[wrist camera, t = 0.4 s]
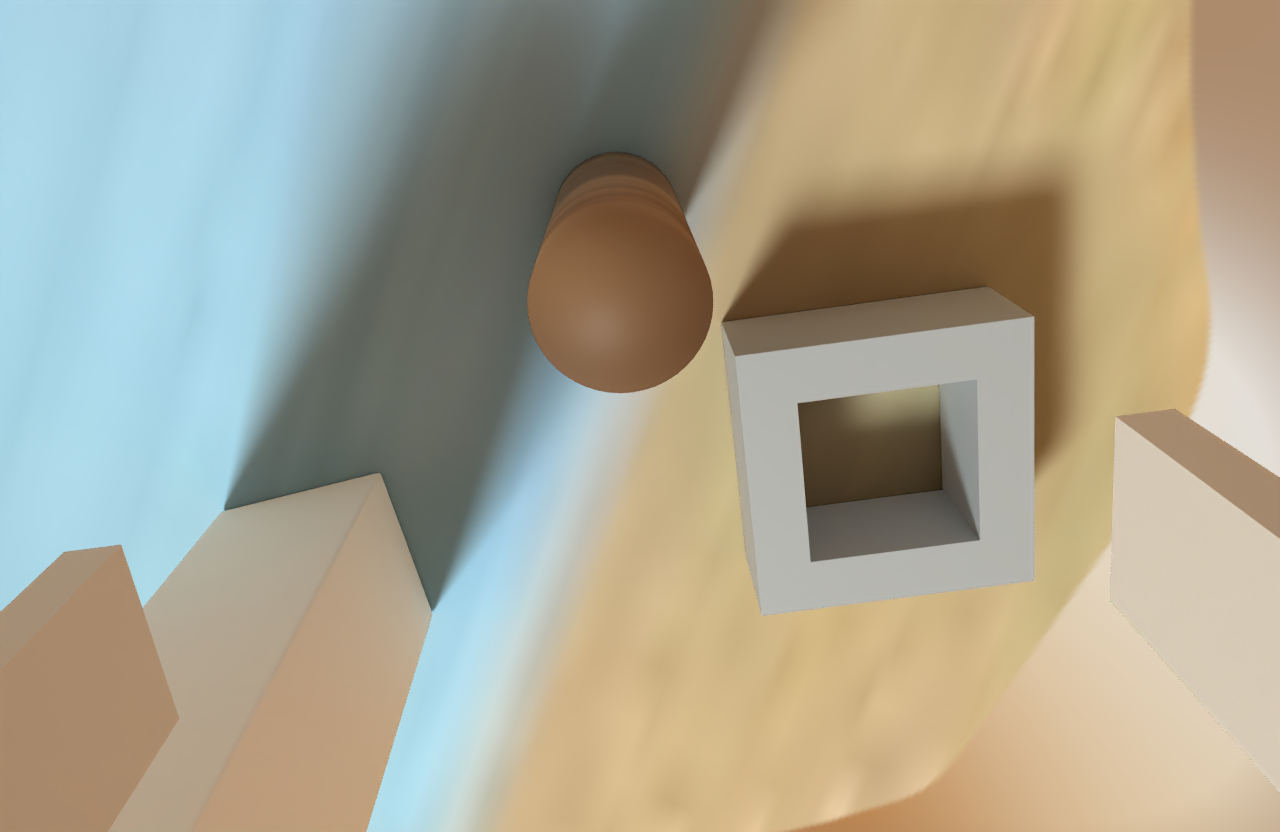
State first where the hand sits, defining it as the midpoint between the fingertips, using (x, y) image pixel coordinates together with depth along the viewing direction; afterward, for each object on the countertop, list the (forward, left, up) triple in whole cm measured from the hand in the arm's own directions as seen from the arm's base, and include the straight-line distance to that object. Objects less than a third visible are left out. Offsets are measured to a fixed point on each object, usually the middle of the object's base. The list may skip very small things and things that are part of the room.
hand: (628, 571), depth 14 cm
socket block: (+7, +8, -21) cm, 24 cm away
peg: (-1, 0, -21) cm, 22 cm away
